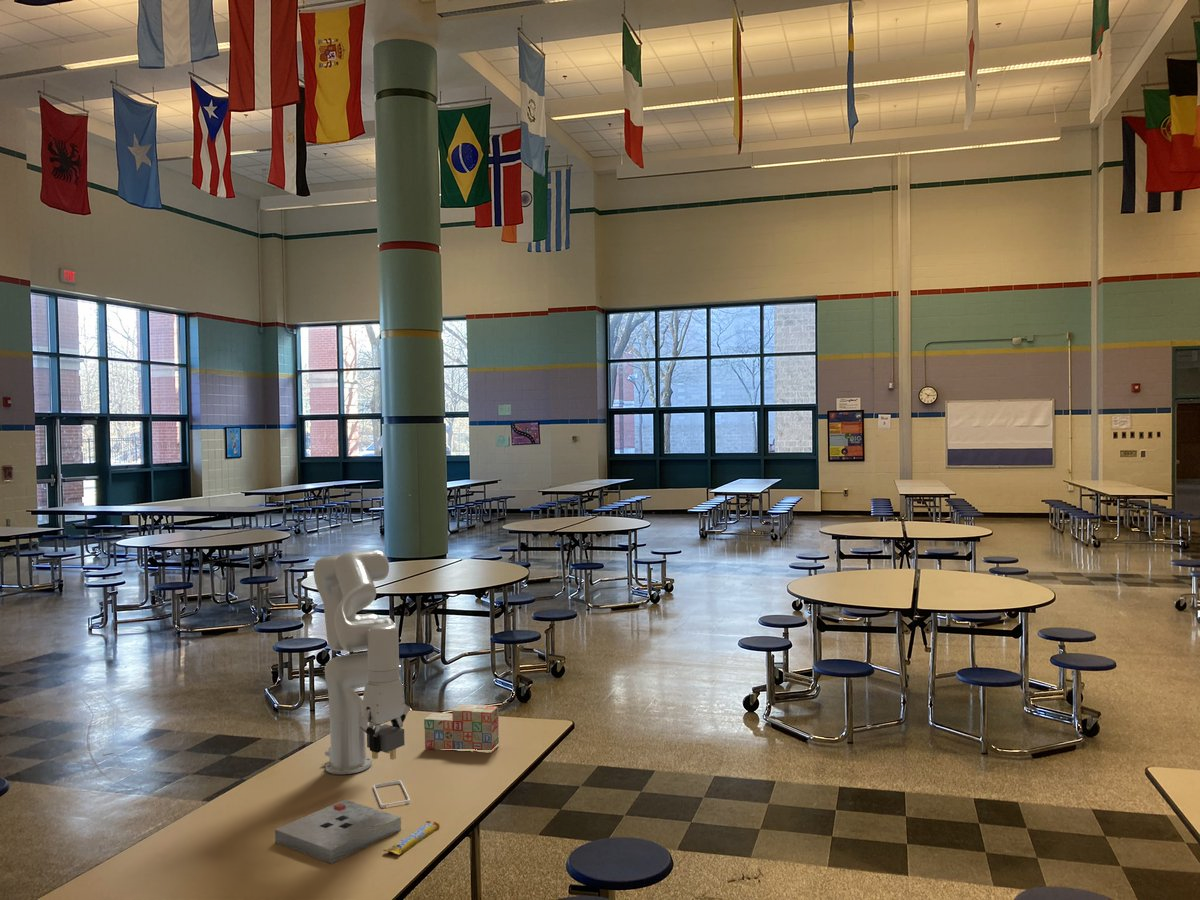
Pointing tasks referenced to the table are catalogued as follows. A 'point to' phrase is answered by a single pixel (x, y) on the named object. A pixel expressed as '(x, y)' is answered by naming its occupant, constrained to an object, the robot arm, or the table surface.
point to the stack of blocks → (463, 728)
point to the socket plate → (337, 830)
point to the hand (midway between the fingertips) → (385, 746)
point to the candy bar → (413, 838)
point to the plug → (389, 740)
